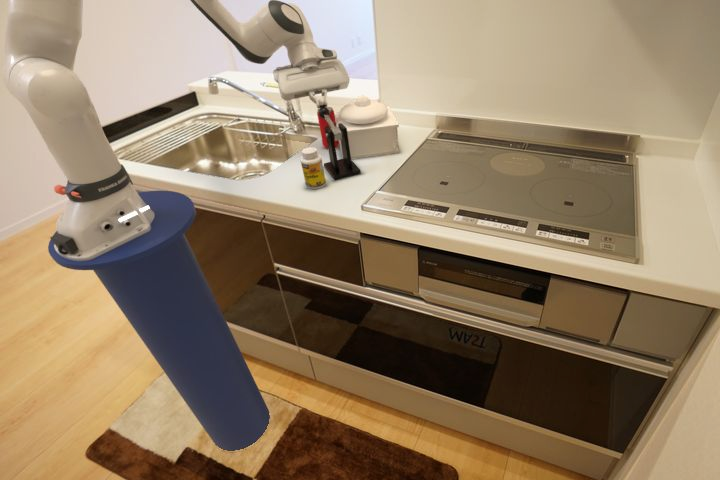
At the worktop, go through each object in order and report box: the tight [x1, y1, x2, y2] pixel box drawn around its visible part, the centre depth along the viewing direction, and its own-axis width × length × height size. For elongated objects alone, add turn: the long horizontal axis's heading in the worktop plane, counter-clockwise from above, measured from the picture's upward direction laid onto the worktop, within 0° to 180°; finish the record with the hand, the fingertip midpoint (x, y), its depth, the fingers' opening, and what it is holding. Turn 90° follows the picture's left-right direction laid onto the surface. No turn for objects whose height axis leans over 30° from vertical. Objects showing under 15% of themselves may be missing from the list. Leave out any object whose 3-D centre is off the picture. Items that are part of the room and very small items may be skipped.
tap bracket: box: [323, 123, 362, 181], centre depth 117 cm, size 10×8×13 cm
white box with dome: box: [334, 94, 400, 160], centre depth 128 cm, size 18×18×16 cm
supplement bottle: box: [300, 146, 327, 190], centre depth 111 cm, size 6×6×10 cm
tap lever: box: [319, 107, 342, 141], centre depth 116 cm, size 13×3×3 cm, turn 25°
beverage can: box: [316, 106, 340, 150], centre depth 131 cm, size 5×5×12 cm
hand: (322, 106), depth 118 cm, fingers closed, pressing on tap lever
